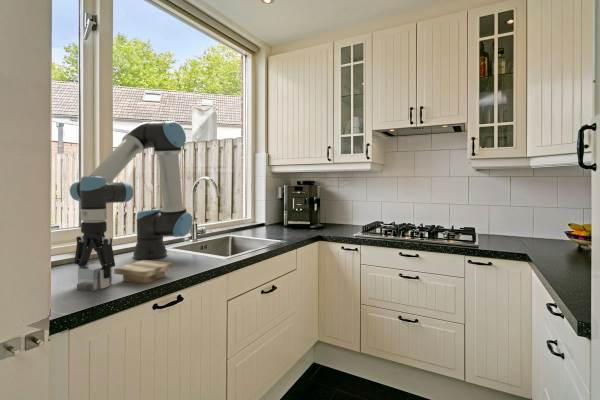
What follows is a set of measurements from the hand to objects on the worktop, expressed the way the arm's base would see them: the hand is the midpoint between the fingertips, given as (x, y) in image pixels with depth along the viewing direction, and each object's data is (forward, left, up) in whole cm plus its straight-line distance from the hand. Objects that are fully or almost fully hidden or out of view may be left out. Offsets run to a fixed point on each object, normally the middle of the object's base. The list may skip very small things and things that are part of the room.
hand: (94, 285), depth 113 cm
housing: (0, 0, 0) cm, 0 cm away
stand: (-13, +9, 0) cm, 16 cm away
